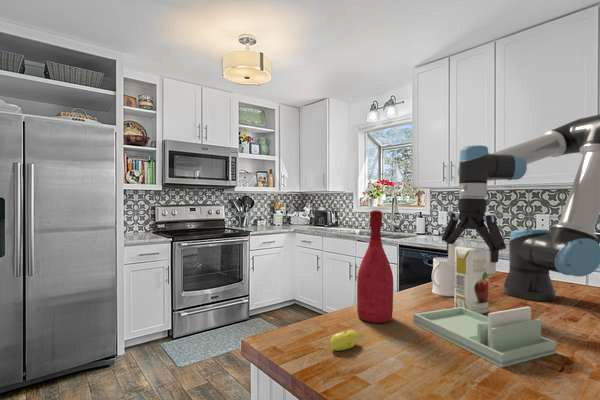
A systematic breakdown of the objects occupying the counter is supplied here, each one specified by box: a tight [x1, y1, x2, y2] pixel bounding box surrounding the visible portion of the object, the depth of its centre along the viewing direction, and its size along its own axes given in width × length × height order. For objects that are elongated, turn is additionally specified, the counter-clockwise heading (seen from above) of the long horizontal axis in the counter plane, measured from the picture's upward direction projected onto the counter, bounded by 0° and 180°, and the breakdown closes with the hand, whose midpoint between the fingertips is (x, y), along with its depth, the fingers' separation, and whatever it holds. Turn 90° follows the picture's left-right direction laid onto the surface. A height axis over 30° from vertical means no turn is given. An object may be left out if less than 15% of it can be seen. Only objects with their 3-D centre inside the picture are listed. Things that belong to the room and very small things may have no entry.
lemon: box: [329, 329, 360, 352], centre depth 74 cm, size 4×8×4 cm, turn 124°
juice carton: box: [453, 245, 490, 314], centre depth 100 cm, size 8×9×19 cm
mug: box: [431, 257, 455, 297], centre depth 118 cm, size 12×8×12 cm
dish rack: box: [413, 306, 557, 368], centre depth 81 cm, size 17×25×9 cm
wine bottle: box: [356, 209, 394, 324], centre depth 92 cm, size 10×10×30 cm
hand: (470, 268), depth 100 cm, fingers open, 13 cm apart
